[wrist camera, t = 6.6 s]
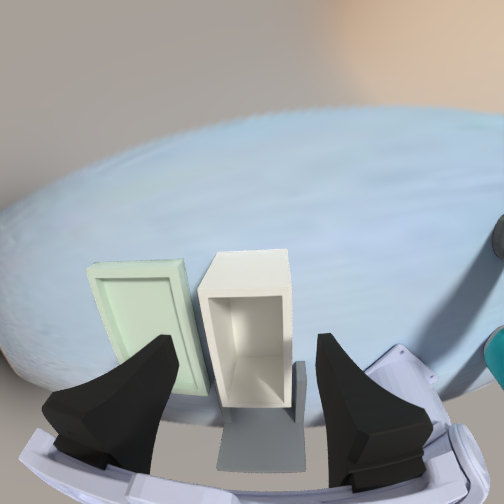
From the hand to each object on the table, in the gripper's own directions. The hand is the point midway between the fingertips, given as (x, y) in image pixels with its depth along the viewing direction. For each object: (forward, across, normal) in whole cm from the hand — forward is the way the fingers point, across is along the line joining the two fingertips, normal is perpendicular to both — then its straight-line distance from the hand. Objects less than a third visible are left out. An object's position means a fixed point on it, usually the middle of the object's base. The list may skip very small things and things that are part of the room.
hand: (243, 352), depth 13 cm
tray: (+8, +10, +5) cm, 14 cm away
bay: (+8, 0, +12) cm, 15 cm away
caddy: (+8, 0, +3) cm, 9 cm away
